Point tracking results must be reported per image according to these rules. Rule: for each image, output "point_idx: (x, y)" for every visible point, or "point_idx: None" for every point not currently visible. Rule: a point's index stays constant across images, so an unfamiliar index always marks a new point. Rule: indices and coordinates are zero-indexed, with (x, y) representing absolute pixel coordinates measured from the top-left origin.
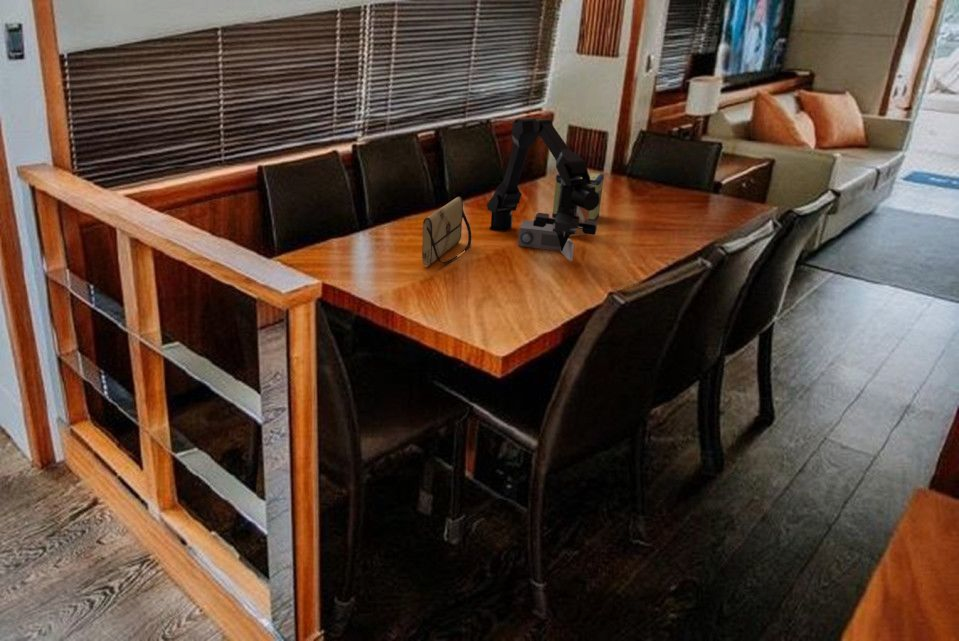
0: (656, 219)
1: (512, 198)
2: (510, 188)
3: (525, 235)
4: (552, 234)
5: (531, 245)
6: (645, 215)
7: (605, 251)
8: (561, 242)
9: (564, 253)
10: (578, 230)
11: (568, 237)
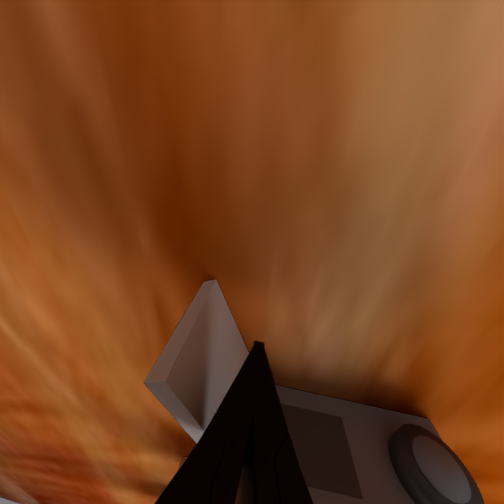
0: (74, 484)
1: None
2: None
3: (460, 492)
4: None
5: (378, 416)
6: (97, 493)
7: (102, 376)
8: (264, 408)
9: (242, 350)
10: None
11: (169, 491)
